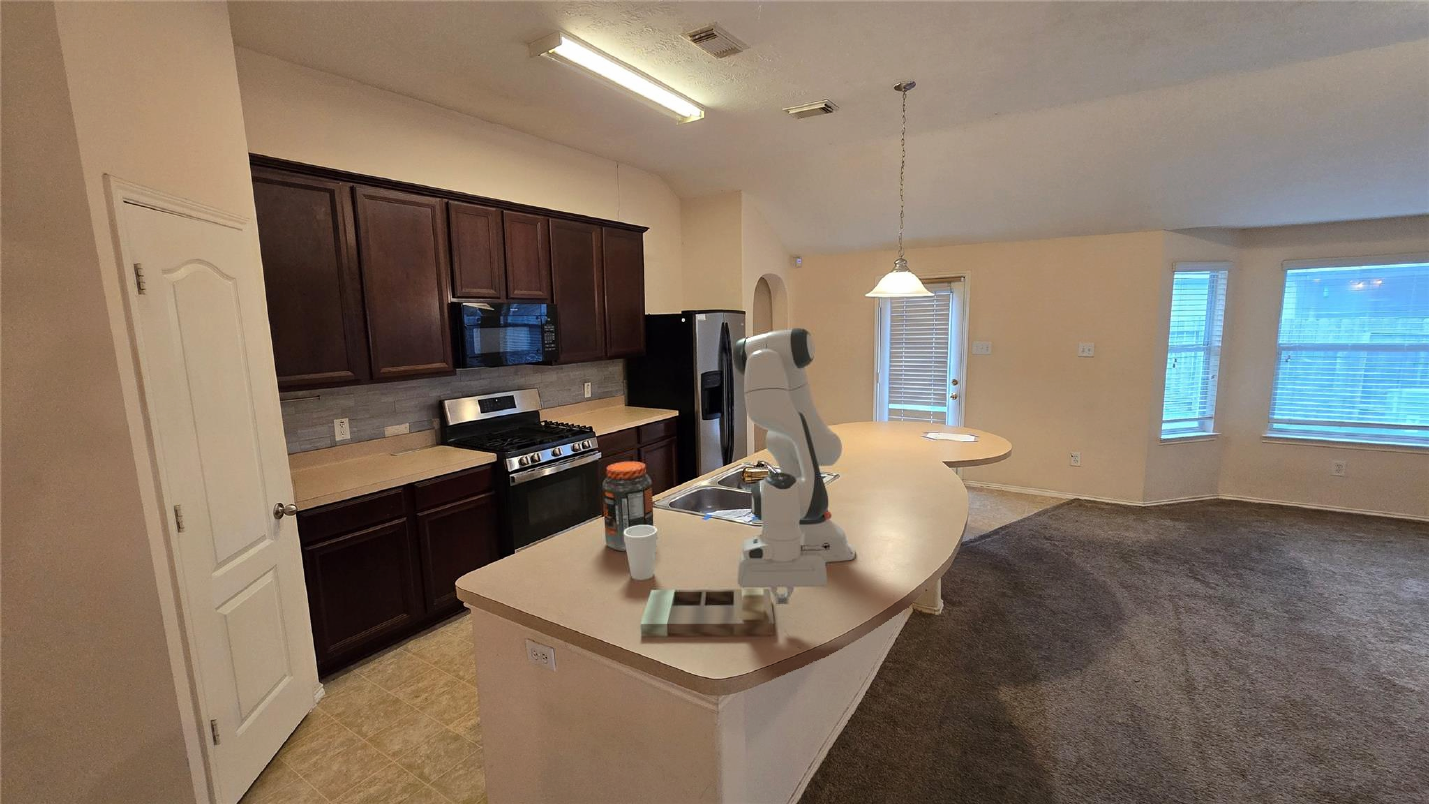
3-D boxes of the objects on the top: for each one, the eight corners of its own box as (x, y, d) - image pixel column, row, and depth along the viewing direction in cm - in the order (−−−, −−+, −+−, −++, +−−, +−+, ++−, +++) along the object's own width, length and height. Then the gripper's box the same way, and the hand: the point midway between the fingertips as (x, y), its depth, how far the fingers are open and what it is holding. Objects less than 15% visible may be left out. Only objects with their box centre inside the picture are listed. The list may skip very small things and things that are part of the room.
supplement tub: (608, 535, 185) (604, 461, 181) (655, 533, 186) (651, 458, 182) (602, 554, 169) (597, 473, 166) (653, 551, 170) (649, 471, 167)
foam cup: (665, 571, 156) (663, 528, 154) (645, 585, 148) (643, 539, 146) (639, 565, 161) (637, 522, 159) (618, 578, 153) (616, 533, 151)
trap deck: (769, 600, 138) (769, 589, 138) (774, 635, 122) (773, 623, 122) (651, 601, 139) (651, 590, 139) (641, 636, 123) (640, 624, 123)
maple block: (763, 608, 128) (763, 588, 128) (764, 619, 123) (764, 598, 123) (742, 608, 128) (741, 588, 128) (742, 619, 124) (741, 599, 123)
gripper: (825, 539, 126) (825, 596, 128) (736, 540, 127) (738, 596, 129) (830, 550, 120) (830, 609, 122) (736, 552, 121) (738, 610, 122)
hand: (782, 603), depth 125 cm, fingers closed
